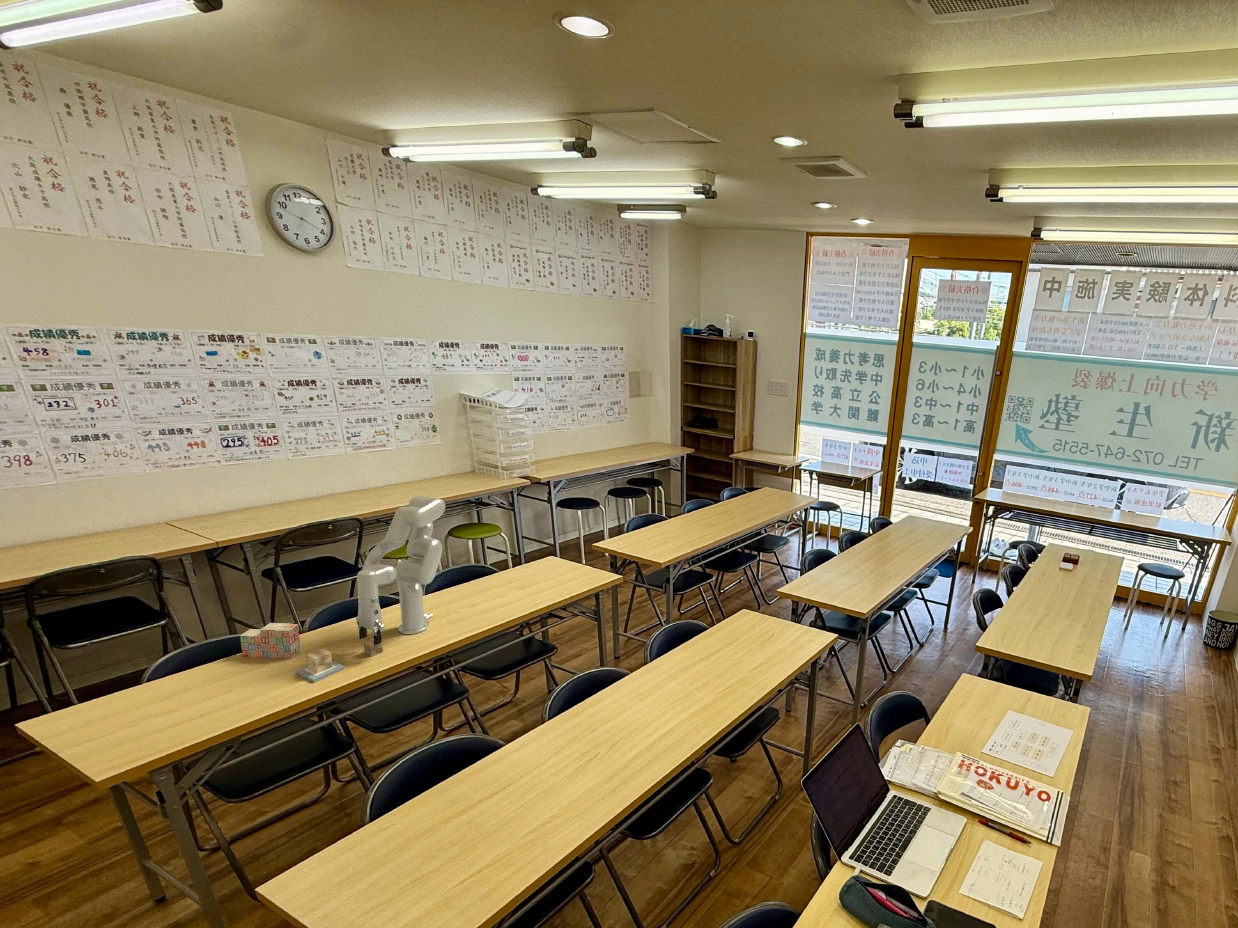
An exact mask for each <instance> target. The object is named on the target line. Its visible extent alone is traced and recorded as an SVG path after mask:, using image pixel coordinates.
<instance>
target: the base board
mask: <svg viewBox="0 0 1238 928" xmlns="http://www.w3.org/2000/svg"><path fill="white" fill-rule="evenodd" d="M342 670H345V666H344V665H343V664H341V663H339V662H338V661H335V660H333V659H332V667H331V668H329V669H327V670H325V671H322V672H320V673H318V674H317V673H315V672H313V671H311V670H309V667H308V665H306V666H304V667H302V668H300V669H298V670H296V674H297V675H298V676H301V677H302V678H303V679H304V678H305V679H306V680H308V681H310V682H311V683H313V684H314V683H315V684H316V682H317V683H318V682H319V681H320V680H324V679H326V678H327V677H330V676H333V675H335V674H336V673H339V672H341V671H342Z"/></svg>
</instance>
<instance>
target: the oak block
mask: <svg viewBox="0 0 1238 928" xmlns="http://www.w3.org/2000/svg"><path fill="white" fill-rule="evenodd" d="M332 660H333V659H332V652H331V651H329V650H327V649H325V648H320V649H317V650H315V651H313V652H310V653H308V654H307V664H308V665H307V666H308V667H309V670H311V671H313V672H315V673H317V674H318V673H320V672H322V671H325V670H327V669H329V668H331V667H332Z"/></svg>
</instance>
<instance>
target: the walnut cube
mask: <svg viewBox="0 0 1238 928" xmlns="http://www.w3.org/2000/svg"><path fill="white" fill-rule="evenodd" d="M383 648H384V647H383V641H382V642H381V643H379V644H377V645H374V638H373V637H372V638H370V639H368V640H366V641H364V642H363V649H364V650H363V651H364V655H366V656H369V657H375V656H377V655H378V654H381V653H383V652H384V649H383Z"/></svg>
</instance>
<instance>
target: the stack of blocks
mask: <svg viewBox="0 0 1238 928" xmlns="http://www.w3.org/2000/svg"><path fill="white" fill-rule="evenodd" d="M300 637H301V636H300V629H299V624H298V623H285V622H281V623H280V622H278V623H277V622H269V623H268V624H266V625H265V626H264V627H261V628H257V629H256V628H255V629H254V628H249V629H248V630H247V631H245V632H243V633H241V634H240V635H239V641H240V645H241V646H240V647H241V654H242V655H241V656H242V657H249V658H250V657H251V658H271V659H274V658H275V659H286V660H287V659H290V660H291V659H293V658H294V657H296V656H297V655H298V654H299V653H301V651H302V649H301V640H300Z"/></svg>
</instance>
